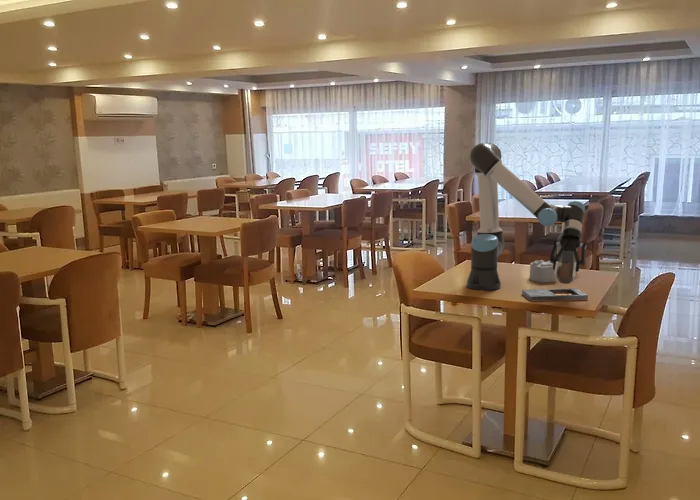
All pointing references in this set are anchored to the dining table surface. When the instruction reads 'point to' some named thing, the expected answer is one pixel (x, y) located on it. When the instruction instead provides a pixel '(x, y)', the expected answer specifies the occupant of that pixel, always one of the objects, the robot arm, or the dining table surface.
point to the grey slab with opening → (554, 294)
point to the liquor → (566, 255)
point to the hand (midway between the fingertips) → (564, 276)
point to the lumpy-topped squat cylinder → (542, 271)
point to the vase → (565, 273)
